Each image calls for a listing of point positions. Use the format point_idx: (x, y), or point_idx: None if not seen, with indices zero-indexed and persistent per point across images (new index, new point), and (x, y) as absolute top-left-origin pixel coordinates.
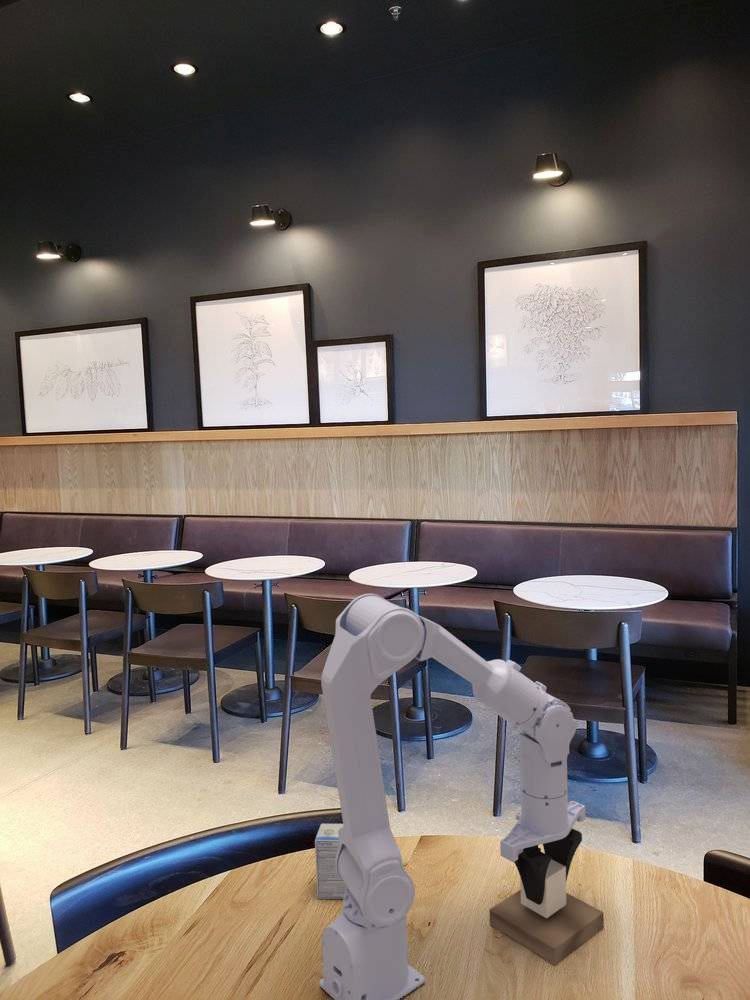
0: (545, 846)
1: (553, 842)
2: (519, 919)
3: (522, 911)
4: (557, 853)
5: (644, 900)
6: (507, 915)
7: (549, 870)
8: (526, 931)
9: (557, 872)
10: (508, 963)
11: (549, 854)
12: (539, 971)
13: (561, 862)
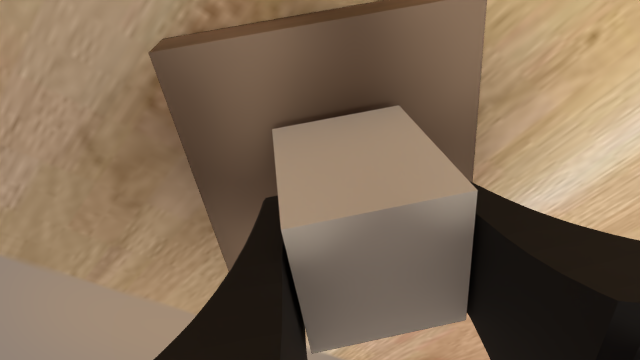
0: (514, 261)
1: (540, 351)
2: (227, 162)
3: (267, 131)
4: (499, 319)
5: (617, 191)
6: (200, 122)
7: (380, 317)
8: (211, 214)
9: (400, 331)
10: (126, 209)
11: (488, 255)
12: (191, 260)
13: (475, 304)
